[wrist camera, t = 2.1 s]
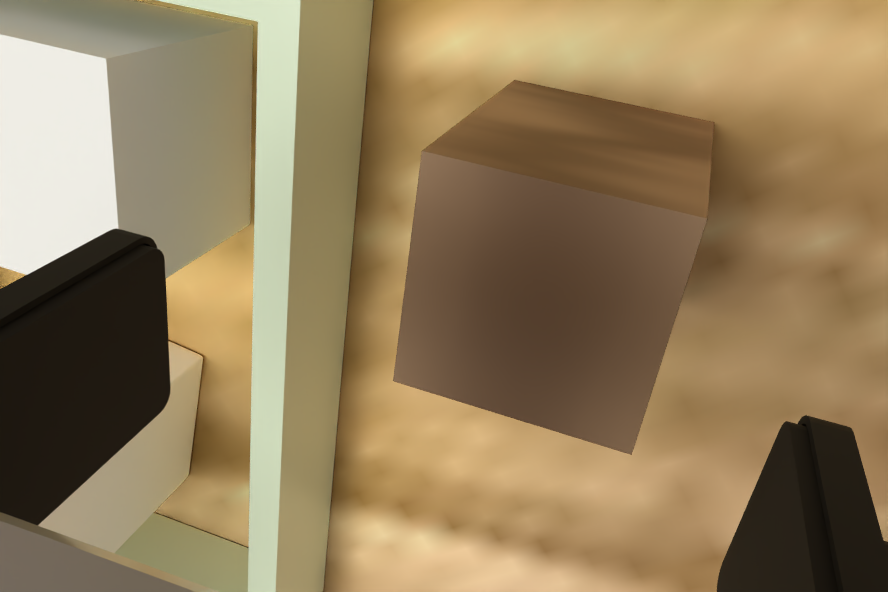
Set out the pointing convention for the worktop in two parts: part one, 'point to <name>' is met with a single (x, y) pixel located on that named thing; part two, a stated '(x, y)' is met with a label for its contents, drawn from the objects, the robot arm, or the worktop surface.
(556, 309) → the walnut block
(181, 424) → the milk
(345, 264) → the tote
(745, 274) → the worktop surface
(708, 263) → the worktop surface
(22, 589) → the robot arm
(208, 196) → the white block
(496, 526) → the worktop surface
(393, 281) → the worktop surface
